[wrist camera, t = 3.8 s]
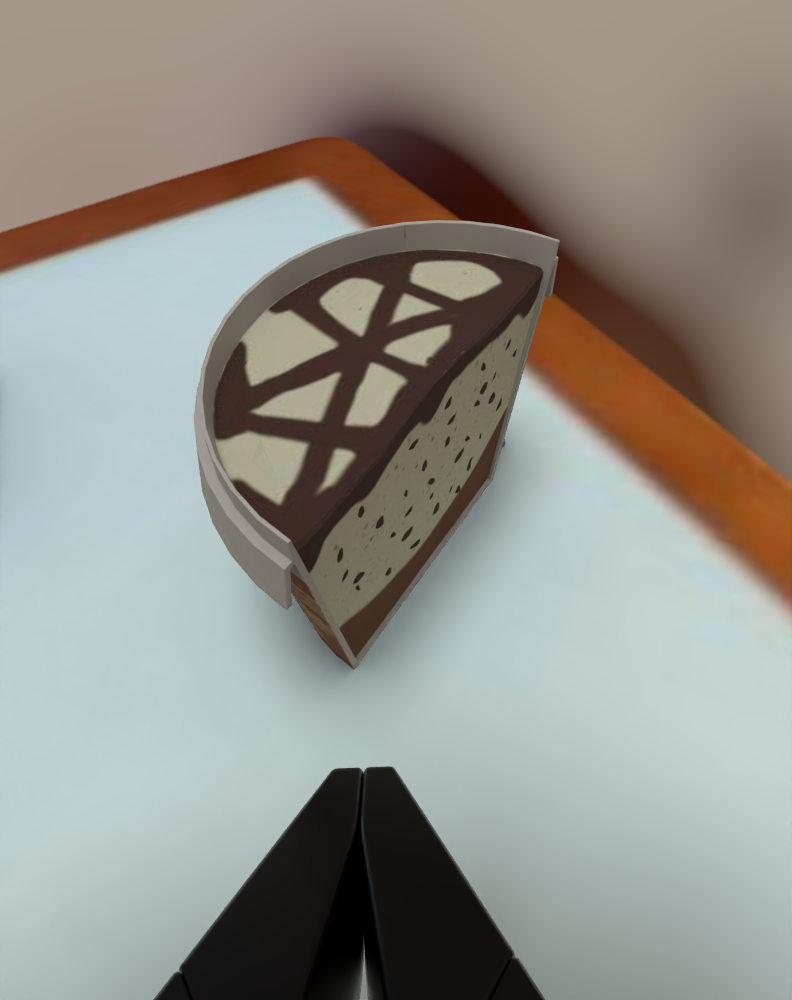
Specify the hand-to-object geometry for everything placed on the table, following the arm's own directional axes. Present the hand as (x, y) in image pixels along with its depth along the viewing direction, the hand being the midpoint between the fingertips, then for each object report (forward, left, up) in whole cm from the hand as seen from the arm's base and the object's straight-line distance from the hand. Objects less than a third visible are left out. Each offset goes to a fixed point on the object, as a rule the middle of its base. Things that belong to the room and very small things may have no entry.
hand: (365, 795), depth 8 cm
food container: (+11, 0, -11) cm, 15 cm away
